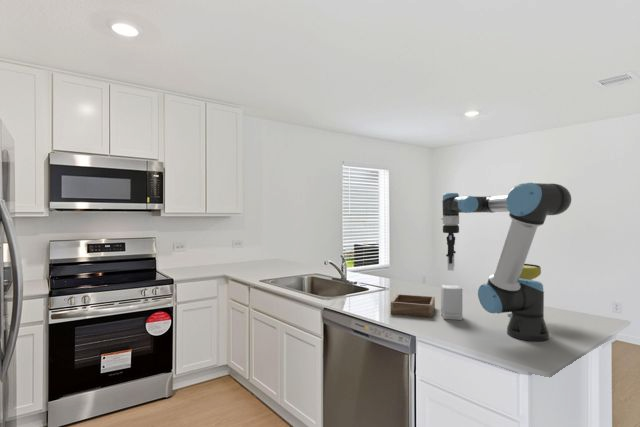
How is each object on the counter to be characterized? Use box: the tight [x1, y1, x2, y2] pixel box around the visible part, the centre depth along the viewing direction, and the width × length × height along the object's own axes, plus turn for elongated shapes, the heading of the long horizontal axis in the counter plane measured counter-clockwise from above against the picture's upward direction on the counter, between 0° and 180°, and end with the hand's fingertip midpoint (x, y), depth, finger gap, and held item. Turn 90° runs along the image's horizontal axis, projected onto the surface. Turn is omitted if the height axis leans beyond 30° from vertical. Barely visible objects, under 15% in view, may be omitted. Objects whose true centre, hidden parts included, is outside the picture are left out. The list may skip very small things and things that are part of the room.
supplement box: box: [440, 284, 463, 321], centre depth 181 cm, size 9×9×15 cm
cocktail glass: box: [507, 263, 542, 319], centre depth 181 cm, size 18×18×25 cm
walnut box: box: [390, 293, 436, 319], centre depth 193 cm, size 20×20×6 cm
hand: (451, 268), depth 181 cm, fingers open, 13 cm apart
